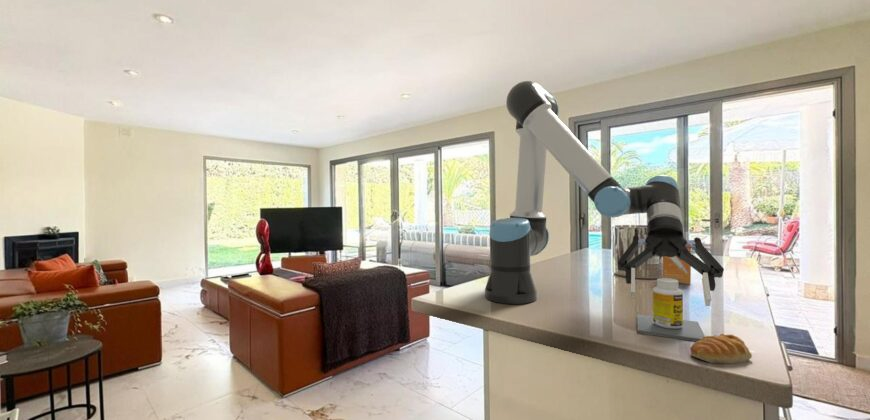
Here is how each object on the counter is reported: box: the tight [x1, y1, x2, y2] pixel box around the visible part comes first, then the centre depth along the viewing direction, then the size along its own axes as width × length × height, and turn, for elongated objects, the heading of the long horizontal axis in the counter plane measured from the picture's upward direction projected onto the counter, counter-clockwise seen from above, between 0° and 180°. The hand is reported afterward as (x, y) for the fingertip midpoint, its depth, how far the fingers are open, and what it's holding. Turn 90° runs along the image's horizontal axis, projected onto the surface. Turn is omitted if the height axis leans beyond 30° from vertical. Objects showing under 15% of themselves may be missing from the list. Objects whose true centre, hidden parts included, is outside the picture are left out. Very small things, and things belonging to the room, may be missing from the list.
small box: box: [662, 246, 692, 285], centre depth 124 cm, size 8×6×13 cm
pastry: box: [689, 333, 753, 365], centre depth 65 cm, size 9×7×4 cm
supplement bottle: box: [652, 277, 684, 329], centre depth 79 cm, size 6×6×10 cm
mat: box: [636, 314, 706, 342], centre depth 79 cm, size 12×12×1 cm
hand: (669, 298), depth 77 cm, fingers open, 13 cm apart
